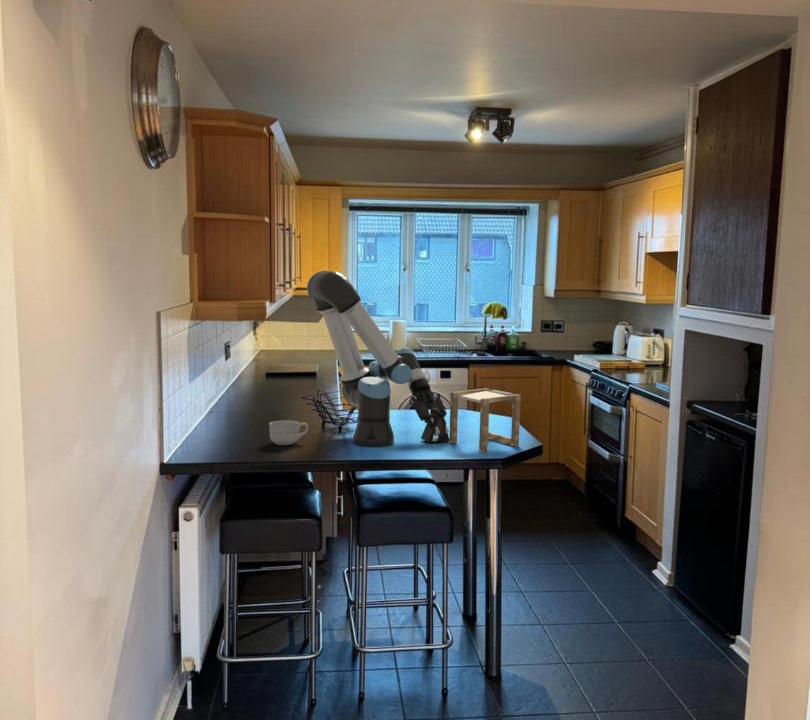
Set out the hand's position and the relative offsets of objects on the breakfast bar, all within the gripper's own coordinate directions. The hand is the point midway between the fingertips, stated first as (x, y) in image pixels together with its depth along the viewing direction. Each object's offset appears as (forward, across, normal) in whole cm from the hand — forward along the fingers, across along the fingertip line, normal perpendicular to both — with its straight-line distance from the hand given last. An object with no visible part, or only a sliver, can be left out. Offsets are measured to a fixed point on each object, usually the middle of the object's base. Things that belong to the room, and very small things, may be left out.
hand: (442, 433), depth 265 cm
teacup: (-16, +50, -20) cm, 56 cm away
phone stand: (0, +1, -5) cm, 5 cm away
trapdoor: (-2, -14, +15) cm, 21 cm away
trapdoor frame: (+9, -12, +4) cm, 16 cm away
